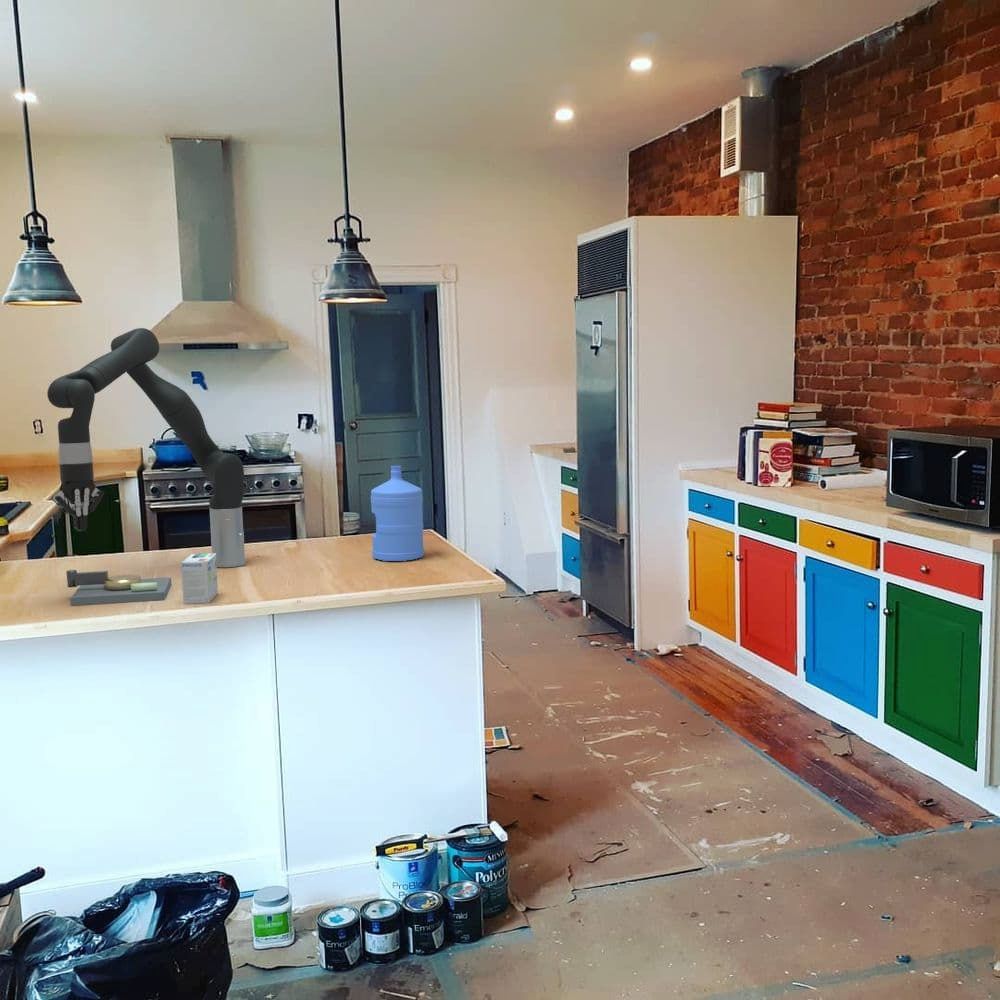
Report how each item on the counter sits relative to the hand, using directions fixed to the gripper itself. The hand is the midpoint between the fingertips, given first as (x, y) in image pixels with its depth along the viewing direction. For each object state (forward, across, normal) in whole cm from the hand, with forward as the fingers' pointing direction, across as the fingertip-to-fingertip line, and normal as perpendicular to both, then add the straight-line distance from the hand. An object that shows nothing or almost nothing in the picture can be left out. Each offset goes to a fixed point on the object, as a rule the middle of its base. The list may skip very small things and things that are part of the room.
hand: (80, 530), depth 240 cm
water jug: (+18, -87, +23) cm, 92 cm away
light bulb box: (+18, -20, +20) cm, 34 cm away
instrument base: (+18, -10, 0) cm, 21 cm away
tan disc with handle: (+16, -7, -3) cm, 17 cm away
